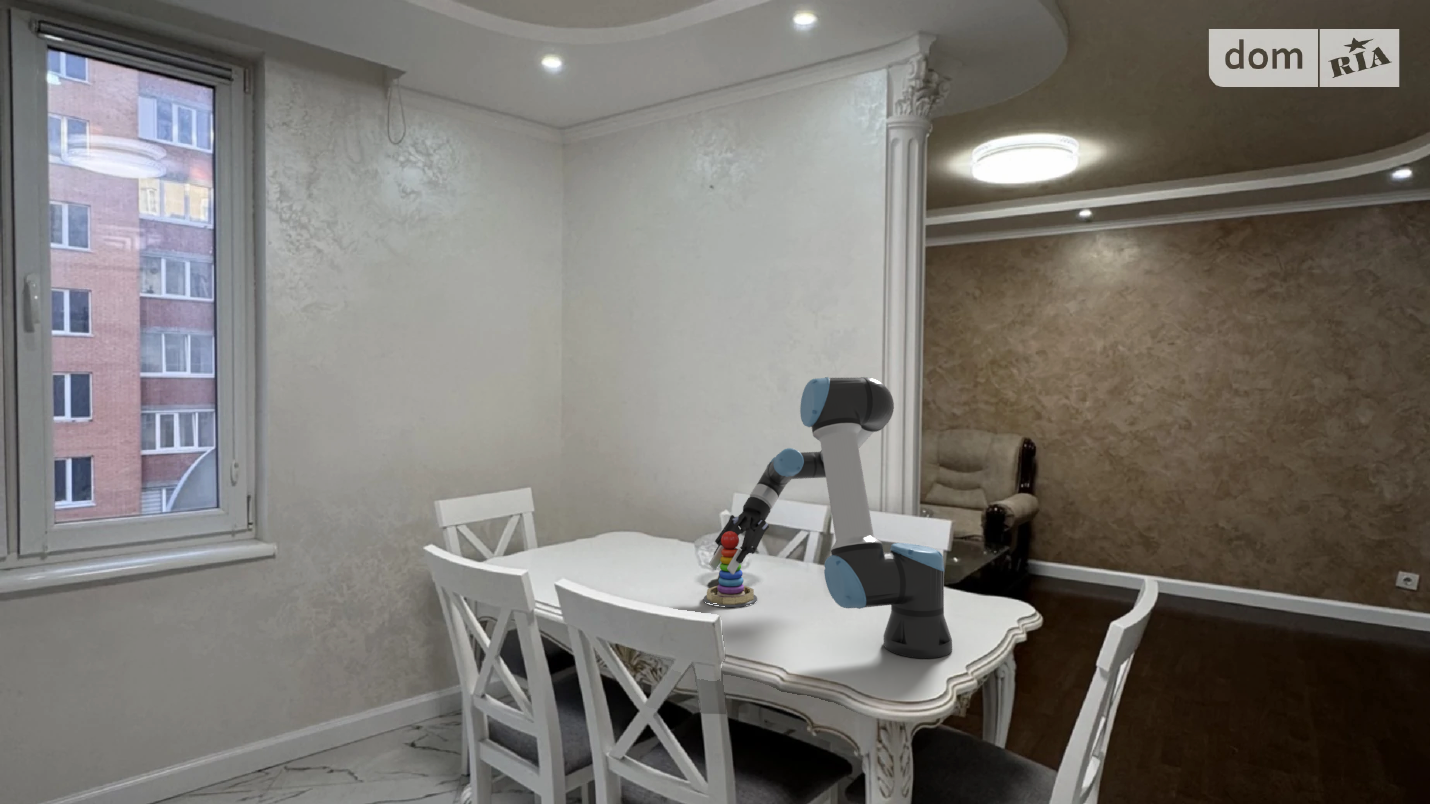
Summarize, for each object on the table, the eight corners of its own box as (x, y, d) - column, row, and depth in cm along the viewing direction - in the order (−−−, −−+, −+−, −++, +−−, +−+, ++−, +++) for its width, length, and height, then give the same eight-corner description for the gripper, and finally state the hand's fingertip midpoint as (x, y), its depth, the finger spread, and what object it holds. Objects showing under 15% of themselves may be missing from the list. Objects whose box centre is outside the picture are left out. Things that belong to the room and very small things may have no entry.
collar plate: (756, 608, 205) (756, 598, 205) (701, 607, 206) (701, 598, 206) (757, 593, 220) (757, 584, 220) (706, 592, 221) (706, 583, 221)
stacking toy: (750, 596, 214) (750, 530, 213) (735, 604, 207) (735, 535, 206) (726, 592, 218) (726, 527, 217) (711, 599, 211) (711, 532, 211)
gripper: (791, 515, 216) (753, 583, 205) (742, 507, 230) (703, 571, 219) (779, 498, 212) (739, 567, 201) (729, 492, 226) (690, 556, 215)
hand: (721, 569), depth 210 cm, fingers open, 6 cm apart
